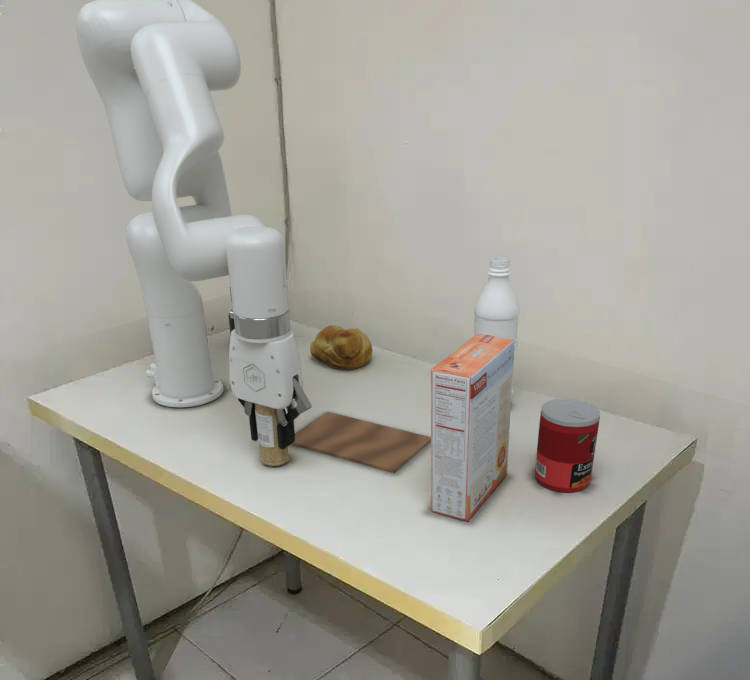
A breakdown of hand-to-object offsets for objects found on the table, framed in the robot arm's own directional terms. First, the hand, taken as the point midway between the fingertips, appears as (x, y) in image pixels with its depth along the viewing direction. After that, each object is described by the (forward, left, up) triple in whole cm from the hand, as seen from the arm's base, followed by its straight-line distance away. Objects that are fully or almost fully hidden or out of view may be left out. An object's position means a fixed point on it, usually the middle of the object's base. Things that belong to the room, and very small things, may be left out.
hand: (273, 440), depth 115 cm
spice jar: (0, 0, -4) cm, 4 cm away
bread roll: (-13, +39, -4) cm, 41 cm away
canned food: (+40, +16, -4) cm, 43 cm away
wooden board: (+8, +12, -4) cm, 14 cm away
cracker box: (+30, +6, -4) cm, 30 cm away
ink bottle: (-35, +39, -4) cm, 53 cm away
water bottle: (+21, +34, -4) cm, 40 cm away
